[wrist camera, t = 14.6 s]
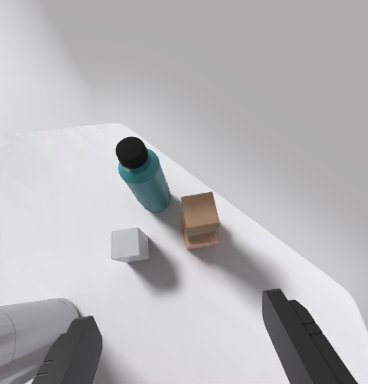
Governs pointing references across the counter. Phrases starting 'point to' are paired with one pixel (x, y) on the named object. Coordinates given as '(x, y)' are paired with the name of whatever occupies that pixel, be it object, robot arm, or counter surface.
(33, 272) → the counter surface
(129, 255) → the grey post
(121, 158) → the beverage bottle
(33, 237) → the counter surface
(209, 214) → the tan rectangular block
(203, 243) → the terracotta block
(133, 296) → the counter surface
